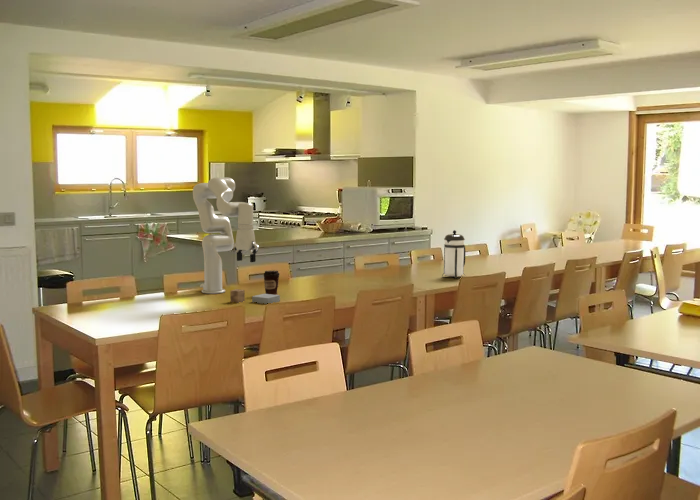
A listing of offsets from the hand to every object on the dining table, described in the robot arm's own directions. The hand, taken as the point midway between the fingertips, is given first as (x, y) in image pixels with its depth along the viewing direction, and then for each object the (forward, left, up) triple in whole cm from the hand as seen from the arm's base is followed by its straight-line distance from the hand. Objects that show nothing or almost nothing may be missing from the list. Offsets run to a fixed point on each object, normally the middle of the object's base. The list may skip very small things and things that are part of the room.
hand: (246, 261), depth 362 cm
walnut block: (-3, -3, -21) cm, 21 cm away
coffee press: (+56, +140, -21) cm, 152 cm away
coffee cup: (-1, +23, -21) cm, 31 cm away
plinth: (+9, +5, -21) cm, 23 cm away
